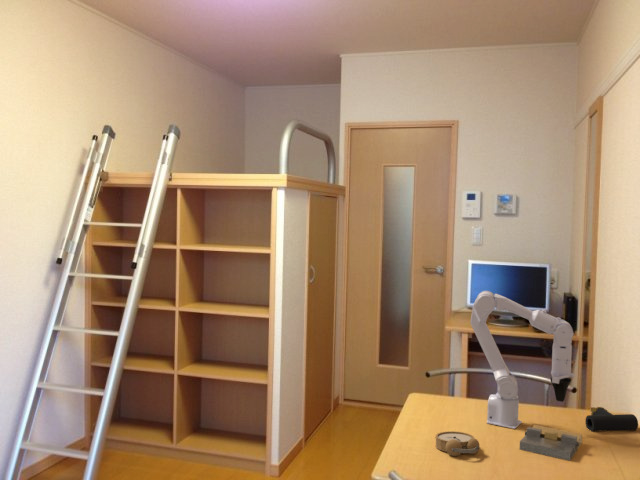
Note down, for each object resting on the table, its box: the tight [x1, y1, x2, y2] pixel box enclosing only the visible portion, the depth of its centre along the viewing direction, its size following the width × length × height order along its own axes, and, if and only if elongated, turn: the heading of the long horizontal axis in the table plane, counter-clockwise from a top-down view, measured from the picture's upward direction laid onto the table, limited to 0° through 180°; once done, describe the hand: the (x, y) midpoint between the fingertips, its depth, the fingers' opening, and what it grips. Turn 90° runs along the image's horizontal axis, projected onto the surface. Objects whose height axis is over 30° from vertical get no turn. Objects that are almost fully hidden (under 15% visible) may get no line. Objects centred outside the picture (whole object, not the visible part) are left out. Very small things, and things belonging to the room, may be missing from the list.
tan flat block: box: [531, 424, 583, 451], centre depth 186 cm, size 14×9×4 cm, turn 56°
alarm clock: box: [435, 430, 480, 457], centre depth 179 cm, size 11×5×15 cm
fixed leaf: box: [519, 426, 579, 462], centre depth 180 cm, size 15×9×4 cm, turn 56°
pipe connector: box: [585, 406, 639, 432], centre depth 202 cm, size 12×5×15 cm
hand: (560, 400), depth 197 cm, fingers closed
